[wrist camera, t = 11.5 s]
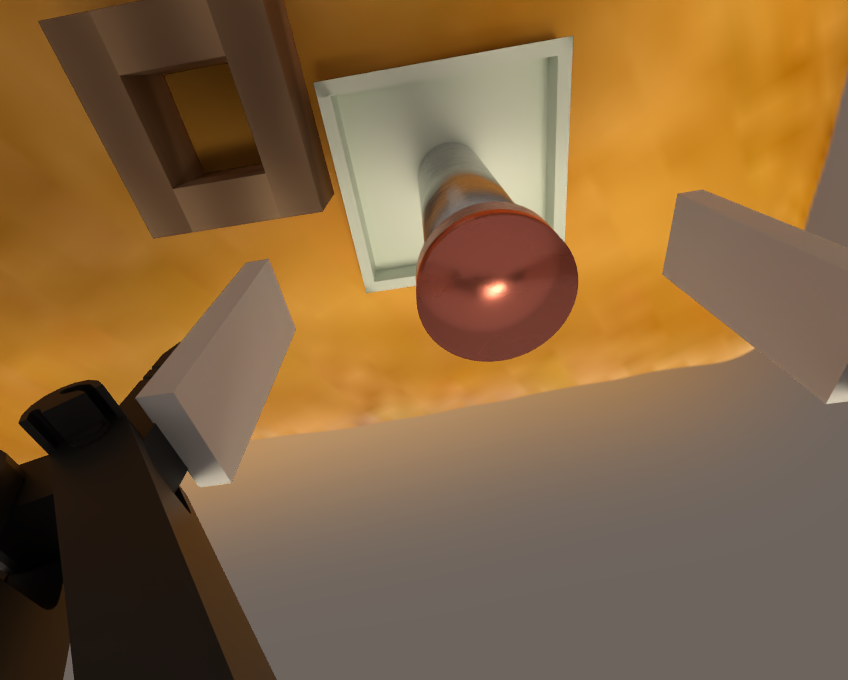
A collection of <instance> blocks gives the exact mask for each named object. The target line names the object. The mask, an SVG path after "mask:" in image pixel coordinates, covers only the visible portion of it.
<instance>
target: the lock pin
mask: <svg viewBox="0 0 848 680" xmlns="http://www.w3.org/2000/svg"><path fill="white" fill-rule="evenodd" d="M418 186H419V196H420V206H421V216H422V226H423V236H424V245H423V247H422V249H421V251H420V254H419V257H418V261H417V266H416V299H417V309H418V313H419V317H420V319H421V322H422V324H423V326H424V328H425V330H426V331H427V333H428V334H429V335H430V337H431V338H432V339H433V340H434V341H435V342H436V343H437V344H438V345H439V346H441V347H442V348H444V349H445V350H447V351H448V352H450V353H452V354H454V355H456V356H459V357H462V358H465V359H469V360H474V361H487V362H492V361H502V360H507V359H511V358H515V357H518V356H521V355H523V354H526V353H528V352H530V351H532V350H534V349H536V348H537V347H539V346H540V345H542V344H543V343H545V342H546V341H547V340H548V339H550V338H551V337H552V336H553V335H554V334H555V333H556V332H557V331H558V330H559V329H560V327H561V326H562V325H563V323H564V322H565V321H566V319H567V317H568V316H569V314H570V312H571V310H572V307H573V305H574V302H575V299H576V295H577V289H578V273H577V266H576V263H575V260H574V257H573V255H572V253H571V251H570V249H569V248H568V246H567V245H566V244H565V242H564V241H563V240H562V239H561V238H560V237H559V235H558V234H557V233H556V232H555V231H554V230H553V229H552V228H551V226H550V225H549V224H548V223H547V222H546V221H545V220H544V219H543V218H542V217H541V216H539V215H538V214H536V213H535V212H534V211H532V210H530V209H528V208H526V207H524V206H521V205H518V204H515V203H514V202H513V201H512V199H511V198H510V197H509V196H508V194H507V193H506V192H505V190H504V189H503V188H502V187H501V185H500V184H499V183H498V181H497V180H496V179H495V178H494V176H493V175H492V174H491V172H490V171H489V170H488V169H487V167H486V166H485V165H484V163H483V162H482V161H481V160H480V158H479V157H478V156H477V154H476V153H475V152H474V151H473V150H472V149H471V148H469V147H468V146H466V145H464V144H462V143H458V142H446V143H442V144H439V145H437V146H435V147H434V148H432V149H431V150H430V151H429V152H428V153H427V154H426V155H425V157H424V158H423V160H422V162H421V164H420V167H419V171H418Z"/></svg>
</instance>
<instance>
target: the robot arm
mask: <svg viewBox="0 0 848 680" xmlns="http://www.w3.org/2000/svg"><path fill="white" fill-rule="evenodd" d="M662 274H663V275H664V276H665V277H666V278H668V279H669V280H670V281H671V282H673V283H674V284H675V285H676V286H678V287H679V288H680V289H681V290H683V291H684V292H685V293H686V294H688V295H689V296H690V297H692V298H693V299H694V300H695V301H697V302H698V303H699V304H700V305H702V306H703V307H704V308H705V309H707V310H708V311H709V312H710V313H712V314H713V315H714V316H715V317H717V318H718V319H719V320H721V321H722V322H723V323H724V324H726V325H727V326H728V327H729V328H731V329H732V330H733V331H734V332H736V333H737V334H738V335H739V336H741V337H742V338H743V339H744V340H746V341H747V342H748V343H750V344H751V345H752V346H753V347H755V348H756V349H757V350H758V351H760V352H761V353H762V354H764V355H765V356H766V357H767V358H768V359H770V360H771V361H772V362H773V363H775V364H776V365H777V366H779V367H780V368H781V369H782V370H784V371H785V372H786V373H787V374H789V375H790V376H791V377H793V378H794V379H795V380H796V381H798V382H799V383H800V384H801V385H803V386H804V387H805V388H806V389H808V390H809V391H810V392H811V393H813V394H814V395H815V396H816V397H818V398H819V399H820V400H821V401H823V402H824V403H825V404H830V403H837V402H845V401H848V248H846V247H844V246H841V245H839V244H836V243H834V242H831V241H829V240H826V239H824V238H821V237H819V236H816V235H814V234H811V233H809V232H807V231H804V230H802V229H799V228H797V227H794V226H792V225H789V224H787V223H784V222H782V221H779V220H777V219H774V218H772V217H769V216H767V215H764V214H762V213H759V212H757V211H754V210H752V209H749V208H747V207H744V206H742V205H739V204H737V203H734V202H732V201H729V200H727V199H724V198H722V197H719V196H717V195H715V194H712V193H710V192H707V191H705V190H698V191H692V192H685V193H679V194H677V200H676V205H675V210H674V215H673V221H672V226H671V231H670V237H669V242H668V247H667V252H666V258H665V263H664V268H663V273H662ZM295 330H296V329H295V326H294V324H293V321H292V318H291V316H290V313H289V310H288V308H287V305H286V303H285V300H284V297H283V295H282V292H281V290H280V287H279V284H278V282H277V279H276V276H275V274H274V271H273V269H272V266H271V263H270V261H269V259H265V260H259V261H253V262H247V263H245V265H244V266H243V267H242V268H241V269H240V271H239V272H238V273H237V274H236V276H235V277H234V278H233V279H232V280H231V282H230V283H229V284H228V285H227V287H226V288H225V289H224V290H223V291H222V293H221V294H220V295H219V296H218V297H217V299H216V300H215V301H214V302H213V304H212V305H211V306H210V307H209V308H208V310H207V311H206V312H205V313H204V315H203V316H202V317H201V318H200V319H199V321H198V322H197V323H196V324H195V326H194V327H193V328H192V329H191V330H190V332H189V333H188V334H187V335H186V337H185V338H184V339H183V340H182V341H181V342H179V343H178V344H176V345H175V346H174V347H172V348H171V349H169V350H168V351H167V352H165V353H164V354H163V355H162V356H161V357H160V358H159V359H158V361H157V362H156V363H155V364H154V365H153V366H152V370H149V371H148V372H147V374H146V375H145V376H144V377H143V380H141V381H140V382H139V383H138V384H137V385H136V386H135V388H134V389H133V390H132V391H131V392H130V394H129V395H128V396H127V397H126V398H125V399H124V401H123V402H122V403H121V404H120V405H118V404H117V403H116V401H115V400H114V399H113V397H112V396H111V395H110V394H109V392H108V391H107V390H106V388H105V387H104V386H103V384H101V383H100V382H99V381H97V380H86V381H81V382H76V383H73V384H70V385H68V386H65V387H62V388H60V389H58V390H56V391H54V392H52V393H50V394H48V395H46V396H44V397H43V398H41V399H40V400H39V401H37V402H36V403H34V404H33V405H31V406H30V407H29V408H28V409H27V410H26V411H25V412H24V414H23V415H22V416H21V418H20V421H19V424H20V425H21V427H22V428H23V429H24V430H25V431H26V432H27V433H28V434H29V435H30V436H31V437H32V438H33V439H34V440H35V441H36V442H37V443H38V444H39V445H40V446H41V447H42V448H43V449H44V450H45V451H46V452H47V453H48V454H49V455H47V456H44V457H41V458H38V459H35V460H32V461H29V462H26V463H23V464H21V465H18V464H17V463H16V462H15V461H14V460H13V459H12V458H11V457H10V456H9V455H8V454H6V453H5V452H3V451H2V450H0V680H63V677H64V672H65V666H66V661H67V655H68V650H69V644H70V646H71V655H72V664H73V673H74V680H276V677H275V676H274V673H273V672H272V669H271V667H270V665H269V663H268V661H267V659H266V657H265V655H264V653H263V651H262V649H261V647H260V645H259V643H258V641H257V638H256V636H255V634H254V632H253V630H252V628H251V626H250V624H249V622H248V620H247V618H246V616H245V614H244V612H243V610H242V608H241V606H240V604H239V602H238V600H237V597H236V595H235V593H234V592H233V589H232V587H231V585H230V583H229V581H228V579H227V577H226V575H225V573H224V571H223V569H222V567H221V565H220V563H219V561H218V559H217V556H216V555H215V552H214V550H213V548H212V546H211V544H210V542H209V540H208V538H207V536H206V534H205V532H204V530H203V528H202V526H201V524H200V522H199V519H198V517H197V516H196V513H195V511H194V509H193V507H192V506H191V503H190V501H189V499H188V497H187V495H186V494H185V492H184V491H183V490H182V488H181V487H180V486H179V485H180V483H181V481H182V480H183V478H184V476H185V474H186V472H187V471H188V472H189V473H190V475H191V476H192V478H193V479H194V480H195V482H196V483H197V485H198V486H199V487H205V486H213V485H220V484H228V483H232V481H233V479H234V476H235V474H236V471H237V469H238V467H239V464H240V462H241V459H242V457H243V455H244V452H245V450H246V447H247V445H248V443H249V440H250V438H251V435H252V433H253V431H254V428H255V426H256V423H257V421H258V419H259V416H260V414H261V412H262V409H263V407H264V404H265V402H266V400H267V397H268V395H269V392H270V390H271V388H272V385H273V383H274V380H275V378H276V376H277V373H278V371H279V368H280V366H281V364H282V361H283V359H284V356H285V354H286V352H287V349H288V347H289V345H290V342H291V340H292V337H293V335H294V333H295Z"/></svg>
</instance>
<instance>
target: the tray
mask: <svg viewBox="0 0 848 680" xmlns="http://www.w3.org/2000/svg"><path fill="white" fill-rule="evenodd" d="M572 51H573V36H569V37H563V38H558V39H552V40H546V41H541V42H535V43H530V44H524V45H519V46H513V47H508V48H502V49H497V50H491V51H485V52H480V53H474V54H469V55H463V56H458V57H452V58H447V59H441V60H436V61H430V62H424V63H419V64H413V65H408V66H402V67H397V68H391V69H386V70H380V71H374V72H369V73H363V74H358V75H352V76H347V77H341V78H336V79H330V80H325V81H319V82H313V83H314V87H315V91H316V95H317V99H318V103H319V107H320V111H321V115H322V119H323V123H324V127H325V131H326V135H327V139H328V143H329V147H330V151H331V155H332V158H333V162H334V166H335V170H336V174H337V178H338V182H339V186H340V190H341V194H342V198H343V202H344V206H345V210H346V214H347V218H348V222H349V226H350V230H351V234H352V238H353V242H354V245H355V249H356V253H357V257H358V261H359V265H360V269H361V273H362V277H363V281H364V285H365V289H366V293H369V292H376V291H383V290H390V289H397V288H404V287H411V286H416V266H417V261H418V257H419V254H420V251H421V249H422V247H423V245H424V236H423V226H422V216H421V206H420V196H419V186H418V171H419V167H420V164H421V162H422V160H423V158H424V157H425V155H426V154H427V153H428V152H429V151H430V150H431V149H432V148H434V147H435V146H437V145H439V144H442V143H446V142H458V143H462V144H464V145H466V146H468V147H469V148H471V149H472V150H473V151H474V152H475V153H476V154H477V156H478V157H479V158H480V160H481V161H482V162H483V163H484V165H485V166H486V167H487V169H488V170H489V171H490V172H491V174H492V175H493V176H494V178H495V179H496V180H497V181H498V183H499V184H500V185H501V187H502V188H503V189H504V190H505V192H506V193H507V194H508V196H509V197H510V198H511V199H512V201H513V202H514V203H515V204H518V205H521V206H524V207H526V208H528V209H530V210H532V211H534V212H535V213H536V214H538V215H539V216H541V217H542V218H543V219H544V220H545V221H546V222H547V223H548V224H549V225H550V226H551V228H552V229H553V230H554V231H555V232H556V233H557V234H558V235H559V237H560V238H561V239H562V240H563V241H564V242H565V220H566V196H567V172H568V148H569V124H570V100H571V75H572Z"/></svg>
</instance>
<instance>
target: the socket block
mask: <svg viewBox="0 0 848 680" xmlns="http://www.w3.org/2000/svg"><path fill="white" fill-rule="evenodd" d="M38 22H39V24H40V26H41V28H42V30H43V32H44V34H45V35H46V37H47V39H48V41H49V43H50V45H51V47H52V49H53V51H54V52H55V54H56V56H57V58H58V60H59V62H60V64H61V66H62V67H63V69H64V71H65V73H66V75H67V77H68V79H69V81H70V83H71V84H72V86H73V88H74V90H75V92H76V94H77V96H78V98H79V100H80V101H81V103H82V105H83V107H84V109H85V111H86V113H87V115H88V117H89V118H90V120H91V122H92V124H93V126H94V128H95V130H96V132H97V134H98V135H99V137H100V139H101V141H102V143H103V145H104V147H105V149H106V151H107V152H108V154H109V156H110V158H111V160H112V162H113V164H114V166H115V168H116V169H117V171H118V173H119V175H120V177H121V179H122V181H123V183H124V185H125V186H126V188H127V190H128V192H129V194H130V196H131V198H132V200H133V201H134V203H135V205H136V207H137V209H138V211H139V213H140V215H141V217H142V218H143V220H144V222H145V224H146V226H147V228H148V230H149V232H150V234H151V235H152V237H153V239H154V238H160V237H166V236H172V235H179V234H185V233H191V232H198V231H204V230H210V229H216V228H223V227H229V226H235V225H241V224H248V223H254V222H260V221H267V220H273V219H279V218H285V217H292V216H298V215H304V214H310V213H317V212H323V210H324V208H325V207H326V205H327V204H328V202H329V201H330V199H331V198H332V196H333V195H334V191H333V188H332V184H331V180H330V176H329V172H328V169H327V165H326V161H325V157H324V153H323V150H322V146H321V142H320V138H319V134H318V130H317V127H316V123H315V119H314V115H313V111H312V108H311V104H310V100H309V96H308V92H307V89H306V85H305V81H304V77H303V73H302V70H301V66H300V62H299V58H298V54H297V50H296V47H295V43H294V39H293V35H292V31H291V28H290V24H289V20H288V16H287V12H286V9H285V5H284V1H283V0H141V1H136V2H131V3H126V4H121V5H116V6H111V7H106V8H101V9H96V10H91V11H86V12H81V13H76V14H71V15H66V16H61V17H56V18H51V19H46V20H41V21H38ZM224 63H228V65H229V68H230V71H231V74H232V77H233V80H234V83H235V85H236V88H237V91H238V94H239V97H240V100H241V103H242V106H243V109H244V112H245V115H246V118H247V120H248V123H249V126H250V129H251V132H252V135H253V138H254V141H255V144H256V147H257V150H258V153H259V155H260V158H261V161H262V164H258V165H252V166H246V167H240V168H234V169H228V170H223V171H217V172H211V173H205V174H204V172H203V169H202V167H201V164H200V162H199V160H198V157H197V155H196V153H195V150H194V148H193V145H192V143H191V141H190V138H189V136H188V134H187V131H186V129H185V126H184V124H183V122H182V119H181V117H180V115H179V112H178V110H177V107H176V105H175V103H174V100H173V98H172V96H171V93H170V91H169V88H168V86H167V84H166V81H165V79H164V77H163V75H165V74H170V73H175V72H181V71H186V70H192V69H197V68H202V67H208V66H213V65H218V64H224Z"/></svg>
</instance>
